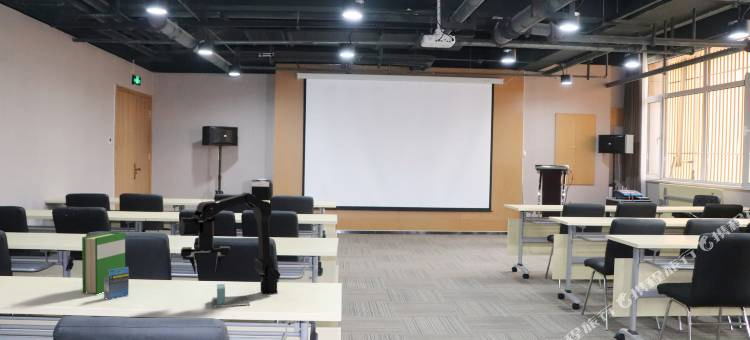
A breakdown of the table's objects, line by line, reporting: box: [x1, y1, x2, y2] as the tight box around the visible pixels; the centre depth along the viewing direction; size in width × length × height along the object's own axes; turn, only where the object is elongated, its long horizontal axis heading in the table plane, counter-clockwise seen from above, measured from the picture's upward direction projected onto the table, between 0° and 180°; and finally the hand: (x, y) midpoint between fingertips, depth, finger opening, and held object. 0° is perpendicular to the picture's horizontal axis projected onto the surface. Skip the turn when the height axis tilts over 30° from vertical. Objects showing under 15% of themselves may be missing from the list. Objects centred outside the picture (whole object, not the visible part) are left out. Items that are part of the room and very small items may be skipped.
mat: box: [212, 294, 251, 308], centre depth 239 cm, size 14×15×1 cm
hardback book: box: [81, 231, 126, 295], centre depth 257 cm, size 18×7×24 cm, turn 165°
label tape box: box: [103, 266, 130, 300], centre depth 245 cm, size 9×4×12 cm, turn 145°
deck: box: [216, 283, 226, 304], centre depth 238 cm, size 3×9×6 cm, turn 15°
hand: (205, 272), depth 236 cm, fingers open, 8 cm apart
